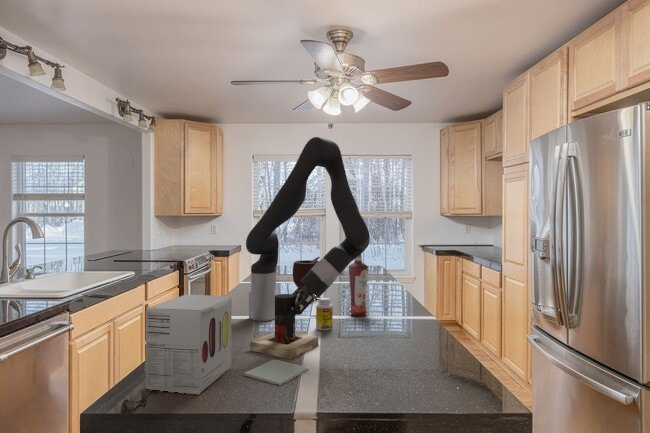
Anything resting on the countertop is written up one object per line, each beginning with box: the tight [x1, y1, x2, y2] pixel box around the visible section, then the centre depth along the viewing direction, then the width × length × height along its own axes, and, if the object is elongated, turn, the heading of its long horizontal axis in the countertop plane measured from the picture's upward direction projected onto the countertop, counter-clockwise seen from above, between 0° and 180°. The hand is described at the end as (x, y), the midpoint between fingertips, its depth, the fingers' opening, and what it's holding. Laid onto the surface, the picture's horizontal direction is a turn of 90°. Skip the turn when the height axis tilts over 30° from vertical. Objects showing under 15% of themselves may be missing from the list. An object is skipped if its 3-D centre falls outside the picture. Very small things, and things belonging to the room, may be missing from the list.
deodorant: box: [274, 293, 296, 345], centre depth 117 cm, size 6×6×15 cm
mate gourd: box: [292, 256, 321, 299], centre depth 189 cm, size 16×14×20 cm
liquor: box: [348, 253, 369, 318], centre depth 156 cm, size 7×7×28 cm
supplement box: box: [145, 294, 233, 396], centre depth 95 cm, size 17×13×18 cm
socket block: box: [249, 331, 319, 360], centre depth 117 cm, size 14×14×2 cm
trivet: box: [243, 358, 309, 386], centre depth 98 cm, size 11×11×1 cm
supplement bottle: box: [315, 297, 334, 331], centre depth 137 cm, size 6×6×10 cm
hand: (281, 318), depth 116 cm, fingers open, 8 cm apart
